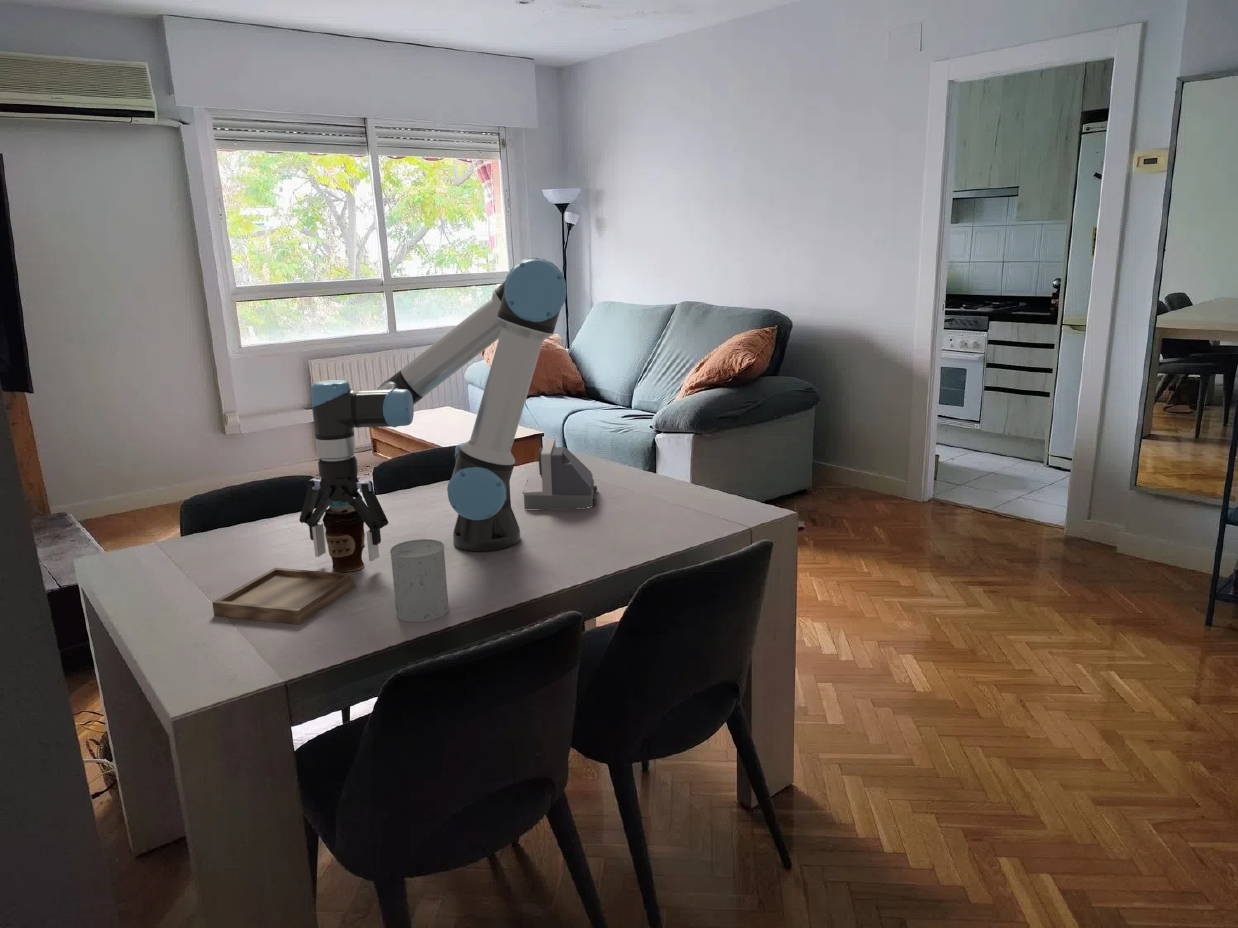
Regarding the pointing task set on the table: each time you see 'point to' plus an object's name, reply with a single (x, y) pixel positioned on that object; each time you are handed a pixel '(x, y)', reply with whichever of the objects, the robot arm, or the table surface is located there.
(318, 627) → the table surface
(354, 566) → the coffee cup
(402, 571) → the white speckled cylinder
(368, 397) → the robot arm
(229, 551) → the table surface
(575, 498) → the instant camera
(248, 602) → the tray
